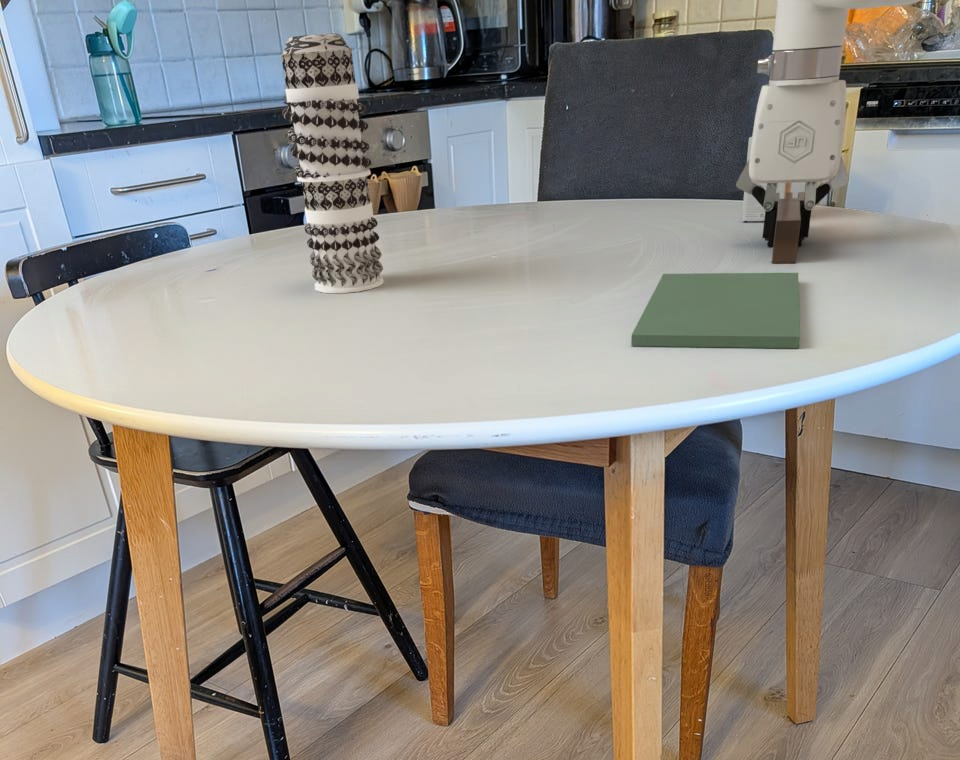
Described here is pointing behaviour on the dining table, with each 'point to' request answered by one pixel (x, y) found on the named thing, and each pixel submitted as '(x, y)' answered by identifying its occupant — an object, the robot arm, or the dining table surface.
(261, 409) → the dining table surface
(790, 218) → the fork
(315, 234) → the decorative candle
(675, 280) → the mat
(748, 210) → the small box
